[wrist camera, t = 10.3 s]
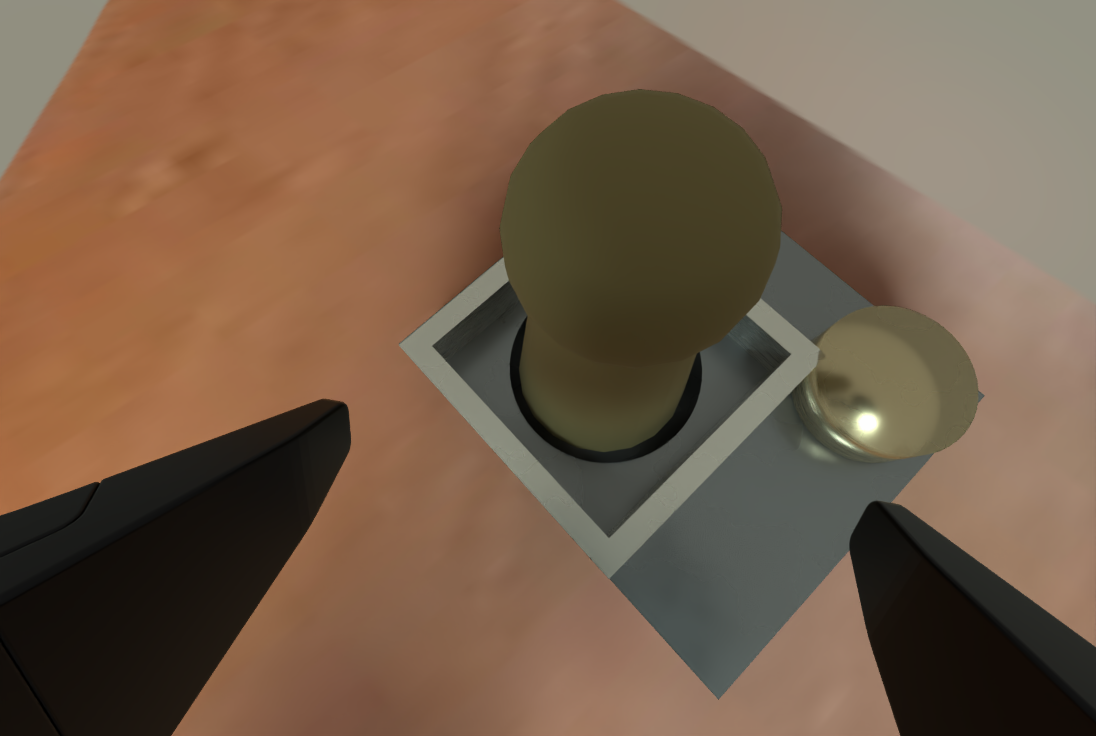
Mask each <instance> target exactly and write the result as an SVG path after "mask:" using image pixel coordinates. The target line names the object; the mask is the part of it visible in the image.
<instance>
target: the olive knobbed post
mask: <svg viewBox="0 0 1096 736" xmlns="http://www.w3.org/2000/svg"><path fill="white" fill-rule="evenodd" d="M781 218H782V207H781V203H780V200H779V197H778V194H777V191H776V188H775V185H774V182H773V179H772V176H771V173H770V170H769V167H768V164H767V161H766V158H765V157H764V155H763V154H762V153H761V151H760V150H759V149H758V148H757V146H756V145H755V144H754V142H753V141H752V140H751V138H750V137H749V136H748V134H747V133H746V132H745V130H744V129H743V128H742V127H740V126H739V125H737V124H736V123H735V122H733V121H732V120H731V119H729V118H728V117H727V116H725V115H724V114H722V113H721V112H720V111H718V110H717V109H716V108H714V107H712V106H710V105H707V104H704V103H702V102H699V101H697V100H694V99H691V98H689V97H686V96H683V95H681V94H678V93H670V92H660V91H651V90H642V89H638V90H631V91H624V92H618V93H611V94H604V95H601V96H598V97H596V98H594V99H591V100H589V101H587V102H585V103H582V104H580V105H578V106H575V107H573V108H571V109H569V110H567V111H566V112H565V113H564V114H563V115H561V116H560V117H559V118H558V119H557V120H556V121H554V122H553V123H552V124H551V125H550V126H548V127H547V128H546V129H545V130H544V131H542V132H541V133H540V134H539V135H538V136H537V137H536V138H535V139H534V140H533V141H532V142H531V143H530V145H529V147H528V148H527V150H526V151H525V153H524V155H523V156H522V158H521V160H520V161H519V163H518V164H517V166H516V168H515V169H514V171H513V172H512V174H511V177H510V181H509V186H508V190H507V195H506V200H505V204H504V209H503V214H502V218H501V223H500V228H499V229H500V236H501V243H502V249H503V256H504V263H505V268H506V272H507V276H508V280H509V282H510V284H511V286H512V288H513V289H514V291H515V293H516V295H517V297H518V299H519V301H520V303H521V304H522V306H523V308H524V310H525V312H526V314H527V315H528V316H527V323H526V329H525V335H524V341H523V347H522V353H521V360H520V366H519V373H520V380H521V387H522V394H523V396H524V398H525V400H526V402H527V404H528V406H529V408H530V410H531V412H532V414H533V416H534V417H535V418H536V419H537V420H538V421H539V422H540V423H541V424H542V425H543V426H544V427H545V428H546V429H547V430H548V431H549V432H550V433H551V434H552V435H553V436H555V437H557V438H559V439H561V440H562V441H564V442H566V443H568V444H570V445H572V446H574V447H576V448H581V449H587V450H594V451H600V452H608V451H614V450H621V449H627V448H632V447H633V446H635V445H637V444H639V443H641V442H643V441H645V440H647V439H649V438H651V437H653V436H655V434H656V433H657V432H658V431H659V430H660V429H661V428H662V427H663V426H664V425H665V424H666V423H667V422H668V421H669V420H670V419H671V418H672V417H673V414H674V412H675V410H676V408H677V406H678V403H679V401H680V399H681V397H682V395H683V392H684V389H685V386H686V383H687V381H688V378H689V375H690V372H691V369H692V366H693V363H694V360H695V357H696V354H697V353H698V352H700V351H702V350H704V349H706V348H708V347H710V346H712V345H714V344H716V343H718V342H720V341H721V340H722V339H723V338H724V337H725V336H726V335H727V334H728V333H729V332H730V331H731V330H732V329H733V328H734V327H735V326H736V325H737V323H738V322H739V321H740V320H741V319H742V318H743V317H744V316H745V315H746V314H747V313H748V312H749V311H750V310H751V309H752V308H753V307H754V306H755V305H756V304H757V303H758V302H759V300H760V298H761V296H762V293H763V291H764V289H765V287H766V284H767V282H768V280H769V277H770V275H771V273H772V271H773V268H774V266H775V264H776V260H777V257H778V253H779V249H780V242H781Z"/></svg>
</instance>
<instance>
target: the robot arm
mask: <svg viewBox="0 0 1096 736" xmlns="http://www.w3.org/2000/svg"><path fill="white" fill-rule="evenodd" d="M350 446H351V432H350V421H349V410H348V407H347V405H346V404H345V403H344V402H340V401H335V400H330V399H320V400H317V401H315V402H312V403H309V404H307V405H304V406H301V407H298V408H296V409H293V410H290V411H288V412H285V413H282V414H279V415H277V416H274V417H271V418H268V419H266V420H263V421H260V422H258V423H255V424H252V425H249V426H247V427H244V428H241V429H239V430H236V431H233V432H230V433H228V434H225V435H222V436H220V437H217V438H214V439H211V440H209V441H206V442H203V443H200V444H198V445H195V446H192V447H190V448H187V449H184V450H181V451H179V452H176V453H173V454H171V455H168V456H165V457H162V458H160V459H157V460H154V461H151V462H149V463H146V464H143V465H141V466H138V467H135V468H132V469H130V470H127V471H124V472H122V473H119V474H116V475H113V476H111V477H108V478H105V479H103V480H102V481H101V483H99V482H94V483H91V484H89V485H86V486H83V487H81V488H78V489H75V490H72V491H70V492H67V493H64V494H61V495H59V496H56V497H53V498H50V499H47V500H44V501H42V502H39V503H36V504H33V505H30V506H27V507H25V508H22V509H19V510H16V511H13V512H10V513H7V514H4V515H1V516H0V736H171V735H172V734H173V732H174V731H175V729H176V728H177V726H178V725H179V723H180V722H181V720H182V719H183V717H184V716H185V714H186V713H187V711H188V710H189V708H190V707H191V705H192V704H193V702H194V701H195V699H196V698H197V696H198V694H199V693H200V691H201V690H202V688H203V687H204V685H205V684H206V682H207V681H208V679H209V678H210V676H211V675H212V673H213V672H214V670H215V669H216V667H217V666H218V664H219V663H220V661H221V660H222V658H223V657H224V655H225V654H226V652H227V651H228V649H229V648H230V646H231V645H232V643H233V642H234V640H235V639H236V637H237V636H238V634H239V633H240V631H241V630H242V628H243V627H244V625H245V624H246V622H247V621H248V619H249V618H250V616H251V615H252V613H253V612H254V610H255V609H256V607H257V606H258V604H259V603H260V601H261V600H262V598H263V597H264V595H265V594H266V592H267V591H268V589H269V588H270V586H271V585H272V583H273V582H274V580H275V579H276V577H277V576H278V574H279V573H280V571H281V570H282V568H283V567H284V565H285V564H286V562H287V561H288V559H289V558H290V556H291V555H292V553H293V552H294V550H295V549H296V547H297V546H298V544H299V543H300V541H301V540H302V538H303V537H304V535H305V533H306V532H307V530H308V529H309V527H310V525H311V524H312V522H313V520H314V518H315V516H316V515H317V513H318V511H319V509H320V507H321V505H322V503H323V501H324V499H325V497H326V495H327V493H328V492H329V490H330V488H331V486H332V484H333V482H334V480H335V478H336V476H337V474H338V472H339V470H340V468H341V466H342V464H343V462H344V461H345V459H346V457H347V455H348V452H349V450H350ZM849 549H850V555H851V560H852V564H853V569H854V574H855V578H856V583H857V588H858V592H859V597H860V602H861V606H862V611H863V616H864V621H865V625H866V629H867V633H868V637H869V641H870V644H871V647H872V651H873V654H874V657H875V660H876V663H877V666H878V669H879V672H880V675H881V678H882V681H883V684H884V688H885V691H886V694H887V697H888V700H889V703H890V706H891V709H892V712H893V715H894V718H895V721H896V724H897V727H898V730H899V733H900V736H1096V647H1095V646H1093V645H1092V644H1091V643H1089V642H1088V641H1087V640H1085V639H1084V638H1083V637H1081V636H1080V635H1078V634H1077V633H1076V632H1074V631H1073V630H1072V629H1070V628H1069V627H1067V626H1066V625H1065V624H1063V623H1062V622H1061V621H1059V620H1058V619H1057V618H1055V617H1054V616H1052V615H1051V614H1050V613H1048V612H1047V611H1046V610H1044V609H1043V608H1041V607H1040V606H1039V605H1037V604H1036V603H1035V602H1033V601H1032V600H1031V599H1029V598H1028V597H1026V596H1025V595H1024V594H1022V593H1021V592H1020V591H1018V590H1017V589H1015V588H1014V587H1013V586H1011V585H1010V584H1009V583H1007V582H1006V581H1005V580H1003V579H1002V578H1000V577H999V576H998V575H996V574H995V573H994V572H992V571H991V570H989V569H988V568H987V567H985V566H984V565H983V564H981V563H980V562H979V561H977V560H976V559H974V558H973V557H972V556H970V555H969V554H968V553H966V552H965V551H963V550H962V549H961V548H959V547H958V546H957V545H955V544H954V543H953V542H951V541H950V540H948V539H947V538H946V537H944V536H943V535H942V534H940V533H939V532H937V531H936V530H935V529H933V528H932V527H931V526H929V525H928V524H927V523H925V522H924V521H922V520H921V519H920V518H918V517H917V516H916V515H914V514H913V513H911V512H910V511H909V510H907V509H906V508H905V507H903V506H901V505H899V504H894V503H889V502H884V501H878V500H876V501H872V502H870V503H869V504H868V505H867V507H866V509H865V510H864V512H863V514H862V516H861V518H860V519H859V521H858V523H857V525H856V527H855V529H854V530H853V532H852V534H851V537H850V542H849Z"/></svg>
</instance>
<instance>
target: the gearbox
mask: <svg viewBox="0 0 1096 736" xmlns="http://www.w3.org/2000/svg"><path fill="white" fill-rule="evenodd" d="M527 316H528V315H527V314H526V312H525V310H524V308H523V306H522V304H521V303H520V301H519V299H518V297H517V295H516V293H515V291H514V289H513V288H512V286H511V284H510V282H509V280H508V276H507V272H506V268H505V263H504V256H503V257H502V258H501V259H500V260H499V261H497V262H496V263H495V264H494V265H493V266H491V267H490V268H489V269H488V270H487V271H485V272H484V273H483V274H482V275H481V276H479V277H478V278H477V279H476V280H475V281H473V282H472V283H471V284H470V285H469V286H467V287H466V288H465V289H464V290H463V291H462V292H460V293H459V294H458V295H457V296H456V297H454V298H453V299H452V300H451V301H450V302H448V303H447V304H446V305H445V306H444V307H442V308H441V309H440V310H439V311H438V312H436V313H435V314H434V315H433V316H432V317H430V318H429V319H428V320H427V321H426V322H424V323H423V324H422V325H421V326H420V327H418V328H417V329H416V330H415V331H414V332H412V333H411V334H410V335H409V336H408V337H407V338H405V339H404V340H403V341H402V342H401V343H399V346H400V347H401V348H402V349H403V351H404V352H405V353H406V354H407V355H408V356H409V357H410V358H411V359H412V361H413V362H414V363H415V364H416V365H417V366H418V367H419V368H420V369H421V371H422V372H423V373H424V374H425V375H426V376H427V377H428V378H429V379H430V381H431V382H432V383H433V384H434V385H435V386H436V387H437V388H438V389H439V391H440V392H441V393H442V394H443V395H444V396H445V397H446V398H447V399H448V401H449V402H450V403H451V404H452V405H453V406H454V407H455V408H456V409H457V411H458V412H459V413H460V414H461V415H462V416H463V417H464V418H465V419H466V421H467V422H468V423H469V424H470V425H471V426H472V427H473V428H474V429H475V431H476V432H477V433H478V434H479V435H480V436H481V437H482V438H483V439H484V441H485V442H486V443H487V444H488V445H489V446H490V447H491V448H492V449H493V451H494V452H495V453H496V454H497V455H498V456H499V457H500V458H501V459H502V461H503V462H504V463H505V464H506V465H507V466H508V467H509V468H510V469H511V471H512V472H513V473H514V474H515V475H516V476H517V477H518V478H519V479H520V481H521V482H522V483H523V484H524V485H525V486H526V487H527V488H528V489H529V491H530V492H531V493H532V494H533V495H534V496H535V497H536V498H537V499H538V501H539V502H540V503H541V504H542V505H543V506H544V507H545V508H546V509H547V511H548V512H549V513H550V514H551V515H552V516H553V517H554V518H555V519H556V521H557V522H558V523H559V524H560V525H561V526H562V527H563V528H564V529H565V531H566V532H567V533H568V534H569V535H570V536H571V537H572V538H573V539H574V541H575V542H576V543H577V544H578V545H579V546H580V547H581V548H582V550H583V551H584V552H585V553H586V554H587V555H588V556H589V557H590V558H591V560H592V561H593V562H594V563H595V564H596V565H597V566H598V567H599V568H600V570H601V571H602V572H603V573H604V574H605V575H606V576H607V577H608V578H609V579H610V580H611V581H612V582H613V583H614V584H615V585H616V586H617V587H618V589H619V590H620V591H621V592H622V593H623V594H624V595H625V596H626V597H627V599H628V600H629V601H630V602H631V603H632V604H633V605H634V606H635V607H636V609H637V610H638V611H639V612H640V613H641V614H642V615H643V616H644V617H645V619H646V620H647V621H648V622H649V623H650V624H651V625H652V626H653V627H654V629H655V630H656V631H657V632H658V633H659V634H660V635H661V636H662V637H663V639H664V640H665V641H666V642H667V643H668V644H669V645H670V646H671V647H672V649H673V650H674V651H675V652H676V653H677V654H678V655H679V656H680V657H681V659H682V660H683V661H684V662H685V663H686V664H687V665H688V666H689V667H690V669H691V670H692V671H693V672H694V673H695V674H696V675H697V676H698V677H699V679H700V680H701V681H702V682H703V683H704V684H705V685H706V686H707V687H708V689H709V690H710V691H711V692H712V693H713V694H714V695H715V696H716V697H717V699H718V700H719V699H720V697H721V696H722V695H723V694H724V693H725V692H726V691H727V689H728V688H729V687H730V686H731V685H732V684H733V683H734V681H735V680H736V679H737V678H738V677H739V676H740V675H741V673H742V672H743V671H744V670H745V669H746V668H747V667H748V665H749V664H750V663H751V662H752V661H753V660H754V659H755V657H756V656H757V655H758V654H759V653H760V652H761V651H762V649H763V648H764V647H765V646H766V645H767V644H768V643H769V641H770V640H771V639H772V638H773V637H774V636H775V635H776V633H777V632H778V631H779V630H780V629H781V628H782V627H783V625H784V624H785V623H786V622H787V621H788V620H789V619H790V617H791V616H792V615H793V614H794V613H795V612H796V611H797V609H798V608H799V607H800V606H801V605H802V604H803V603H804V601H805V600H806V599H807V598H808V597H809V596H810V595H811V593H812V592H813V591H814V590H815V589H816V588H817V587H818V585H819V584H820V583H821V582H822V581H823V580H824V579H825V577H826V576H827V575H828V574H829V573H830V572H831V571H832V569H833V568H834V567H835V566H836V565H837V564H838V563H839V561H840V560H841V559H842V558H843V557H844V556H845V555H846V553H847V552H848V551H849V550H850V549H849V542H850V537H851V534H852V532H853V530H854V529H855V527H856V525H857V523H858V521H859V519H860V518H861V516H862V514H863V512H864V510H865V509H866V507H867V505H868V504H869V503H870V502H872V501H876V500H878V501H884V502H889V503H891V502H892V501H893V500H894V499H895V497H896V496H897V495H898V494H899V493H900V492H901V491H902V489H903V488H904V487H905V486H906V485H907V484H908V483H909V481H910V480H911V479H912V478H913V477H914V476H915V475H916V473H917V472H918V471H919V470H920V469H921V468H922V467H923V465H924V464H925V463H926V462H927V461H928V460H929V459H930V457H931V456H932V455H933V454H934V453H935V452H938V451H941V450H943V449H945V448H947V447H949V446H951V445H952V444H953V443H955V442H956V441H957V440H958V439H960V438H961V437H962V436H963V435H964V433H965V432H966V431H967V429H968V428H969V427H970V425H971V423H972V421H973V419H974V416H975V413H976V410H977V405H978V403H979V401H980V400H981V399H982V398H983V397H984V395H983V394H982V393H981V392H979V391H978V383H977V378H976V374H975V370H974V368H973V365H972V363H971V361H970V359H969V357H968V355H967V353H966V352H965V350H964V349H963V347H962V346H961V345H960V343H959V342H958V341H957V340H956V339H955V338H954V337H953V335H952V334H950V333H949V332H948V331H947V330H946V329H945V328H944V327H942V326H941V325H940V324H938V323H937V322H935V321H934V320H932V319H930V318H928V317H927V316H925V315H922V314H920V313H918V312H915V311H912V310H909V309H906V308H901V307H896V306H873V305H872V304H871V303H870V302H869V301H867V300H866V299H865V298H864V297H862V296H861V295H860V294H859V293H857V292H856V291H855V290H854V289H853V288H851V287H850V286H849V285H848V284H846V283H845V282H844V281H843V280H841V279H840V278H839V277H838V276H836V275H835V274H834V273H833V272H832V271H830V270H829V269H828V268H827V267H825V266H824V265H823V264H822V263H820V262H819V261H818V260H817V259H816V258H814V257H813V256H812V255H811V254H809V253H808V252H807V251H806V250H804V249H803V248H802V247H801V246H800V245H798V244H797V243H796V242H795V241H793V240H792V239H791V238H790V237H788V236H787V235H786V234H785V233H783V232H782V231H781V242H780V249H779V253H778V257H777V260H776V264H775V266H774V268H773V271H772V273H771V275H770V277H769V280H768V282H767V284H766V287H765V289H764V291H763V293H762V296H761V298H760V300H759V302H758V303H757V304H756V305H755V306H754V307H753V308H752V309H751V310H750V311H749V312H748V313H747V314H746V315H745V316H744V317H743V318H742V319H741V320H740V321H739V322H738V323H737V325H736V326H735V327H734V328H733V329H732V330H731V331H730V332H729V333H728V334H727V335H726V336H725V337H724V338H723V339H722V340H721V341H720V342H718V343H716V344H714V345H712V346H710V347H708V348H706V349H704V350H702V351H700V352H698V353H697V354H696V357H695V360H694V363H693V366H692V369H691V372H690V375H689V378H688V381H687V383H686V386H685V389H684V392H683V395H682V397H681V399H680V401H679V403H678V406H677V408H676V410H675V412H674V414H673V417H672V418H671V419H670V420H669V421H668V422H667V423H666V424H665V425H664V426H663V427H662V428H661V429H660V430H659V431H658V432H657V433H656V434H655V436H653V437H651V438H649V439H647V440H645V441H643V442H641V443H639V444H637V445H635V446H633V447H632V448H627V449H621V450H614V451H608V452H600V451H594V450H587V449H581V448H576V447H574V446H572V445H570V444H568V443H566V442H564V441H562V440H561V439H559V438H557V437H555V436H553V435H552V434H551V433H550V432H549V431H548V430H547V429H546V428H545V427H544V426H543V425H542V424H541V423H540V422H539V421H538V420H537V419H536V418H535V417H534V416H533V414H532V412H531V410H530V408H529V406H528V404H527V402H526V400H525V398H524V396H523V394H522V387H521V380H520V373H519V366H520V360H521V353H522V347H523V341H524V335H525V329H526V323H527Z"/></svg>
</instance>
